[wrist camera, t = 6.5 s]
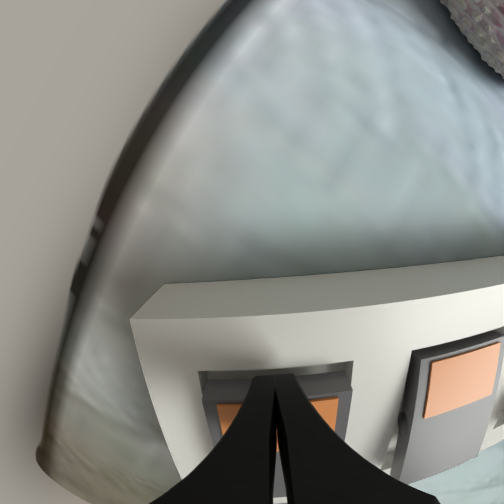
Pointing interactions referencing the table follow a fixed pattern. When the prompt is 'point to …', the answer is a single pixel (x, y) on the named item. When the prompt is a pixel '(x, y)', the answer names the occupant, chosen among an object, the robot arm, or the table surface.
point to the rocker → (235, 390)
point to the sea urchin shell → (481, 27)
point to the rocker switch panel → (313, 342)
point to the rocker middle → (447, 405)
